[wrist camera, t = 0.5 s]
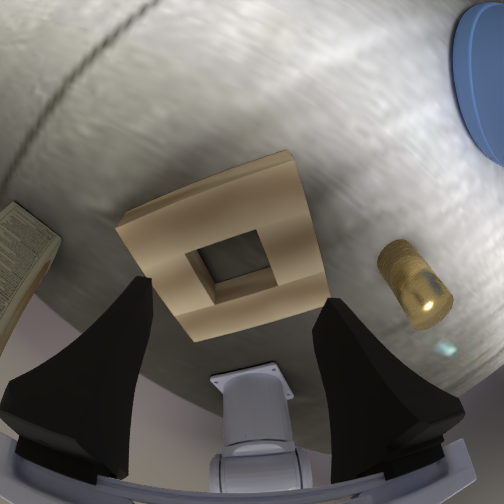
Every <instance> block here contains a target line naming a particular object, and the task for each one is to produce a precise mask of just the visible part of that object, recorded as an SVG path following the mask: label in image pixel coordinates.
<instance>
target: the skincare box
mask: <svg viewBox="0 0 504 504" xmlns="http://www.w3.org/2000/svg"><path fill="white" fill-rule="evenodd" d="M61 242H62V239H61V237H60V236H58V235H57V234H56V233H54V232H53V231H52V230H50V229H49V228H48V227H47V226H45V225H44V224H43V223H41V222H40V221H39V220H37V219H36V218H35V217H33V216H32V215H31V214H30V213H28V212H27V211H26V210H24V209H23V208H22V207H20V206H19V205H18V204H17V203H15V202H12V203H10V204H9V205H8V206H7V207H6V208H5V209H4V210H3V211H1V212H0V356H1V354H2V352H3V350H4V347H5V346H6V343H7V341H8V339H9V337H10V336H11V334H12V332H13V330H14V328H15V326H16V324H17V322H18V320H19V318H20V316H21V315H22V313H23V311H24V309H25V307H26V306H27V304H28V302H29V301H30V299H31V297H32V296H33V294H34V292H35V291H36V289H37V287H38V286H39V284H40V283H41V281H42V279H43V278H44V276H45V275H46V273H47V272H48V270H49V269H50V267H51V264H52V262H53V260H54V258H55V256H56V254H57V251H58V249H59V247H60V244H61Z"/></svg>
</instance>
